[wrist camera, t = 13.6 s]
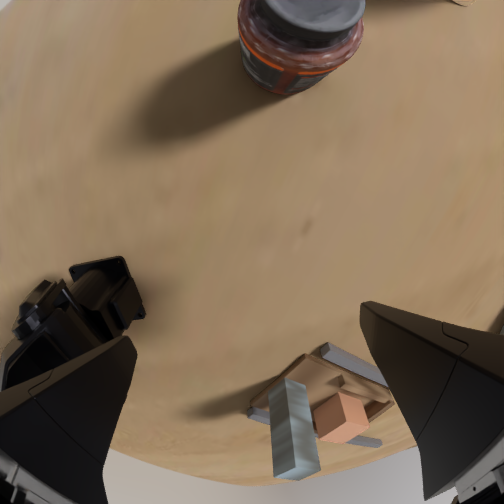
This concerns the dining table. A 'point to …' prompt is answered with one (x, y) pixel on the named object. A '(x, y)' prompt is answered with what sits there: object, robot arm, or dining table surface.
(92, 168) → the dining table surface
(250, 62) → the supplement bottle
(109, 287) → the robot arm
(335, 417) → the cube
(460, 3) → the beer glass
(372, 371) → the lane
